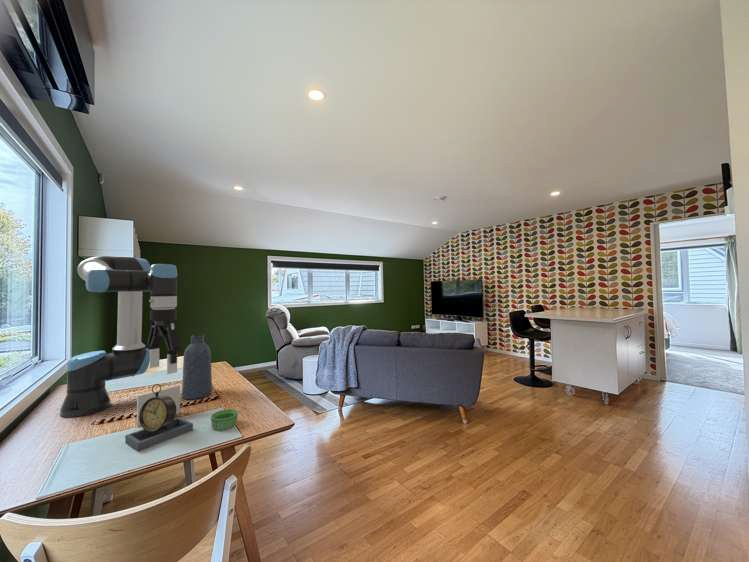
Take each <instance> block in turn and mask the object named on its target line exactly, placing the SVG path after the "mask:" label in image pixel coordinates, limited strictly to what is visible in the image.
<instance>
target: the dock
mask: <svg viewBox="0 0 749 562" xmlns="http://www.w3.org/2000/svg"><path fill="white" fill-rule="evenodd" d="M169 428H170V429H171V430H169V429H168V428H167V430H165V428H164V429H162V430H159V431H155V432H150V433H149V436H148V437H147V436H146V435H147V433H148V431H146V430H144V429H143V428H142V429H139V430H136V431H134V432H131V433H127V434H126V435H124V436H125V439H124V440H125V443H124V444H126V445H127V446H129V447H130V448H132V449H133V450H135V451H137V452H139V453H140V452H142V451H144V450H146V449H149V448H151V447H154V446H157V445H159V444H162V443H164V442H167V441H170V440H173V439H175V438H177V437H181V436H183V435H185V434H187V433H190V432H192V431H194V422H191V421H189V420H186V419H184V418H182V417H180V416H178V417H175V418H174V420H173V422H172V423H171V424H170V425H169Z"/></svg>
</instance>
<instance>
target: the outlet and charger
mask: <svg viewBox="0 0 749 562" xmlns="http://www.w3.org/2000/svg"><path fill="white" fill-rule="evenodd" d="M153 391H154V390H153ZM159 391H160V389H158V390H155V391H154V393H156V392H159ZM154 393H153V392H152V391H150V392H146V393H142V394H137V395H136V427H142V426H141V424H140V421H139V414H140V410H141V408H142V406H143V404H144V403H145V402H146V401H147V400H148V399H150V398H152V397H155V395H156V394H154ZM158 395H159V396H169V397H170V398H172V399H173V400H174V402H175V404H176V415H178V414H180V413H181V385H180V384H177V385H173V386H170V387H164V388H161V391H160V392H159V393H158Z"/></svg>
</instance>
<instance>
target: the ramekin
mask: <svg viewBox="0 0 749 562" xmlns="http://www.w3.org/2000/svg"><path fill="white" fill-rule="evenodd" d="M238 414H239V411H238V410H237V409H234V408H226V409H221V410H218V411H215V412H213V413H212V414H211V415H210V422H211V429H212V430H213V431H217V432H221V431H227V430H231V429H232V428H234V427H235V426H236V425H237V422H238Z"/></svg>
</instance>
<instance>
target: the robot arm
mask: <svg viewBox="0 0 749 562" xmlns="http://www.w3.org/2000/svg"><path fill="white" fill-rule="evenodd" d="M177 269H178V267H177V266H176V265H175V264H170V263H169V264H168V263H154V264H150V262H149V261H148V260H147V259H146V258H140V257H134V256H133V257H132V256H131V257H128V256H127V257H126V256H109V255H101V256H100V255H99V256H93V257H89V258H87V259H84V260H82V261H80V263H79V264H78V265H77V267H76V272H77V275H78V276H79V277H80V279H82V280H83V281H85V288H86V291H88V292H92V293H93V292H94V293H113V292H114V293H117V327H116V329H117V331H116V335H117V336H116V344H115V345H114V346H113V347H112V351H111V352H108V353H107V352H106V350H97V351H96V350H95V351H90V352H89V351H88V352H85V353H81V354H77V355H75V356H73V357H71V358H69V360H67V364H66V365H67V366H66V372H67V373H66V375H67V377H66V378H67V379H66V395H65V398H64V400H63V402H62V404H61V407H60V409H59V416H60V417H62V418H74V417H82V416H86V415H90V414H94V413H97V412H101V411H103V410H106V409H108V408H109V407H110V406H111V397H110V395H109V393H108V391H107V388H106V382H108V381H109V382H110V381H113V380H118V379H124V378H129V377H135V376H139V375H143V374H145V373H146V371H147V370H148V369H153V368H159V367H160V348H161V346H160V343H161V341H162V340H164V343H165V347H166V349H167V352H166V374H167V375H170V374H171V375H172V374H175V373H178V353H179V352H182V348H181V343H180V339H179V334H178V331H177V330H178V326H177V322H174V323H173V322H172V321H174V320H176V319H177V318H178V317H177V306H178V296H177V293H178V291H177V290H178V285H177V284H178V270H177ZM143 292H150V299H149V300H148V302H149V303H150V305H149V306H150V308H151V309H150V310H149V320H150V321H151V322H150V329H149V332H148V338H147V342H146V344H144V343H143V342H142V331H143V330H142V328H143V327H142V326H143V325H142V324H143ZM146 346H147V347H148V348H147V347H146Z"/></svg>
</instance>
